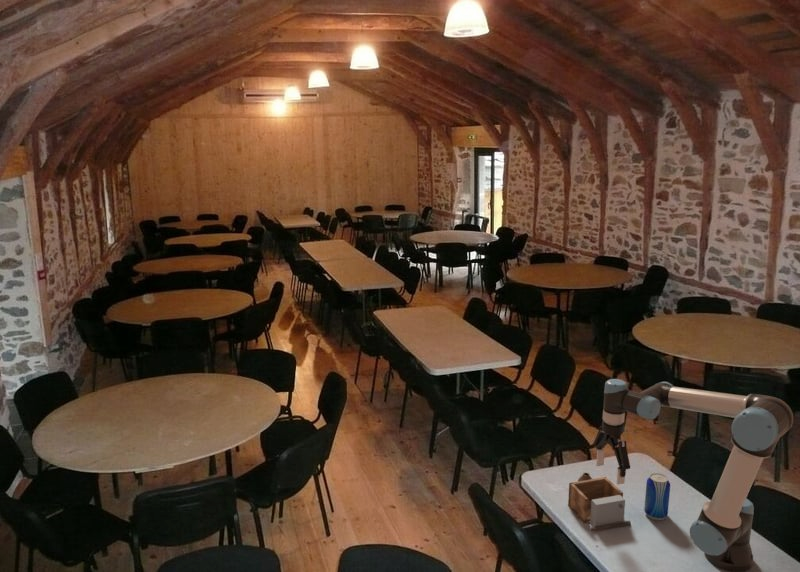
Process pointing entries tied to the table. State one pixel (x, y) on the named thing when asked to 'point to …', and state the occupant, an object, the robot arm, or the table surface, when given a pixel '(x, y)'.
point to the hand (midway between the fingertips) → (609, 474)
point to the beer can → (657, 496)
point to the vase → (584, 477)
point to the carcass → (588, 491)
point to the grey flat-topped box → (607, 510)
